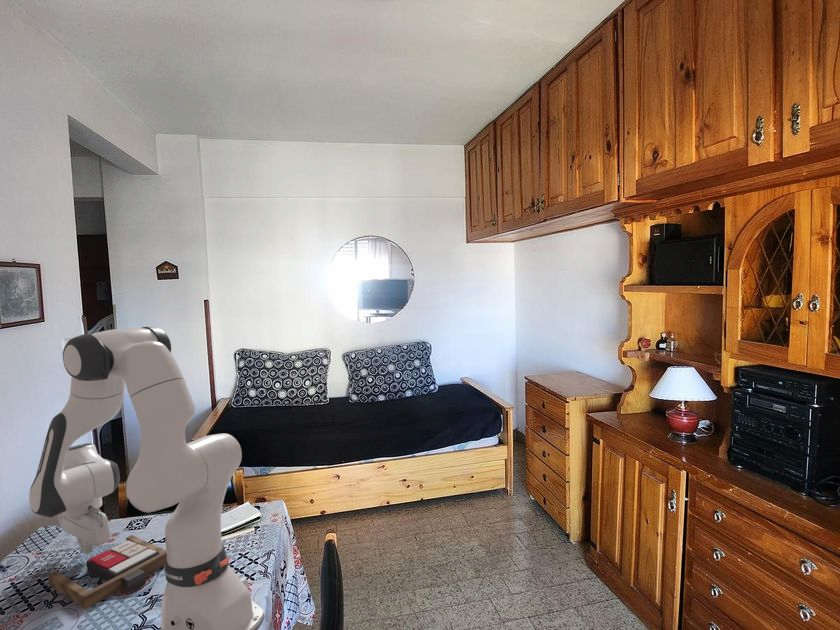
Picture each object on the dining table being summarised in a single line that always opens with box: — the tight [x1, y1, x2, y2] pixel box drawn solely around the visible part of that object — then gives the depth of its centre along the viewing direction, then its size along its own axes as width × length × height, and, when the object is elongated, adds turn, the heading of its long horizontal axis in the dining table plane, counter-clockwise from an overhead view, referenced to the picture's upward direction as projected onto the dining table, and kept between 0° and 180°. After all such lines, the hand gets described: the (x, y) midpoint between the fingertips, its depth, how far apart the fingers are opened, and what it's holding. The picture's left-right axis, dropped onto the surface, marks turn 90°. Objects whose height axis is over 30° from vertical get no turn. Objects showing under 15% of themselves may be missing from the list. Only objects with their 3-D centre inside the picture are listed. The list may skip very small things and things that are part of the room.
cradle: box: [48, 534, 167, 610], centre depth 117 cm, size 22×20×3 cm
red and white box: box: [85, 540, 159, 582], centre depth 121 cm, size 11×4×15 cm
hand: (86, 551), depth 125 cm, fingers closed
